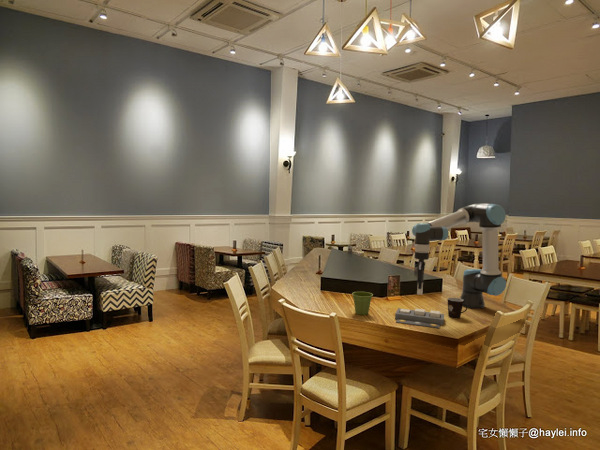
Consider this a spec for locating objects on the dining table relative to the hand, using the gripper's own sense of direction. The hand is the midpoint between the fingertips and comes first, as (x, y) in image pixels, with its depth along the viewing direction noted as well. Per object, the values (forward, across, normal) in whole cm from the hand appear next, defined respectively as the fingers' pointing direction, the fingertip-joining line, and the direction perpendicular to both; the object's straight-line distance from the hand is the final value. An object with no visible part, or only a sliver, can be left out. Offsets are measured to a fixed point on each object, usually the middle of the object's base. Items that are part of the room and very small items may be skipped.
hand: (419, 294), depth 237 cm
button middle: (+11, 0, +1) cm, 11 cm away
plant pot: (+14, +5, -31) cm, 34 cm away
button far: (+12, +1, -7) cm, 14 cm away
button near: (+11, 0, +9) cm, 14 cm away
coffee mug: (+14, -13, +19) cm, 27 cm away
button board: (+14, 0, +1) cm, 14 cm away
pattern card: (+14, +10, +1) cm, 17 cm away
